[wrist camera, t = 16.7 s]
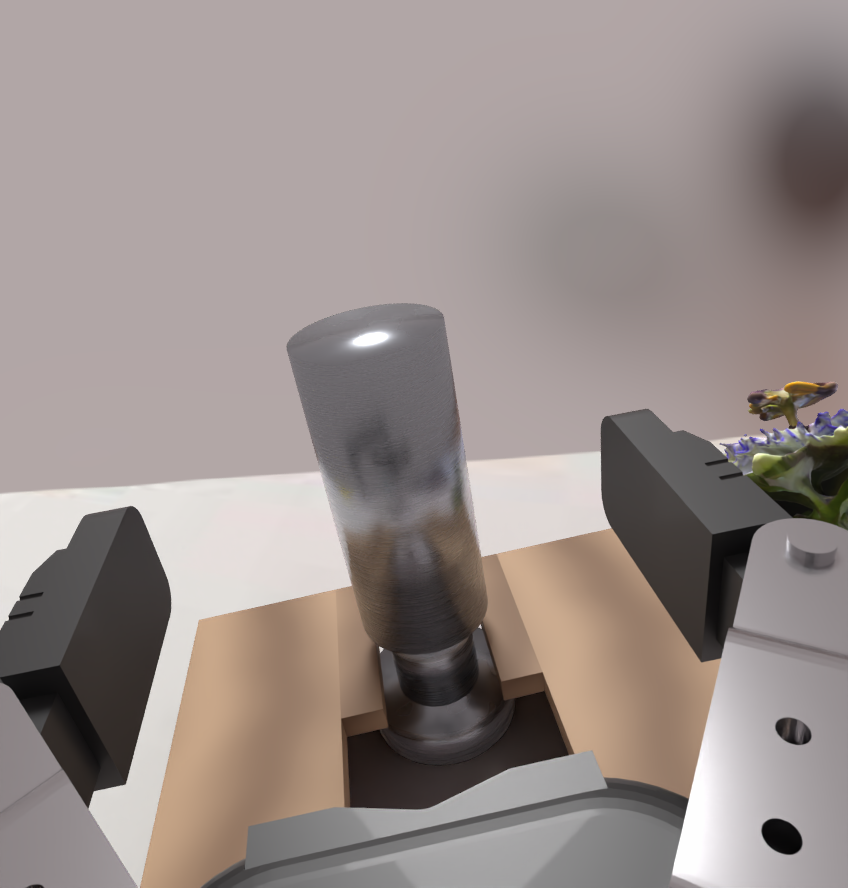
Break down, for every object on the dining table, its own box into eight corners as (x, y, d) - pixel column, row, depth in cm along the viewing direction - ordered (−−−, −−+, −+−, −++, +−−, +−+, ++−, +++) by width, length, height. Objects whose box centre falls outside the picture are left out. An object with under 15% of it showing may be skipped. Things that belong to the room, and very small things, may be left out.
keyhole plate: (157, 1130, 19) (101, 1065, 17) (225, 682, 33) (199, 620, 31) (855, 951, 20) (876, 871, 18) (629, 590, 34) (627, 524, 32)
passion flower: (767, 610, 38) (872, 413, 36) (948, 741, 28) (1109, 475, 26) (599, 554, 35) (704, 334, 33) (734, 679, 25) (899, 370, 23)
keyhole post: (383, 780, 27) (264, 386, 19) (372, 666, 32) (275, 321, 24) (531, 745, 27) (478, 342, 19) (496, 638, 32) (442, 287, 24)
